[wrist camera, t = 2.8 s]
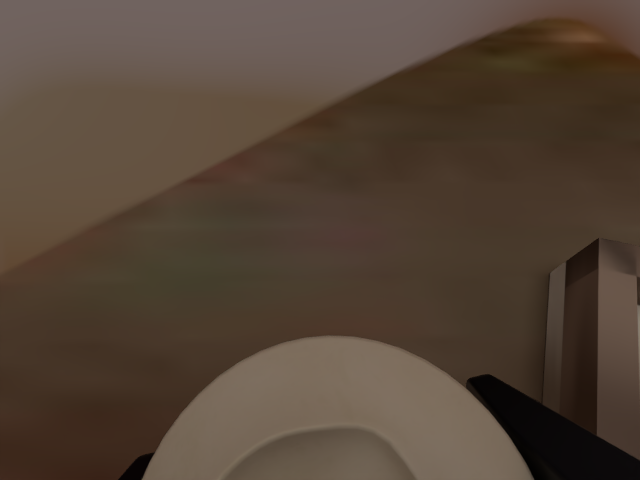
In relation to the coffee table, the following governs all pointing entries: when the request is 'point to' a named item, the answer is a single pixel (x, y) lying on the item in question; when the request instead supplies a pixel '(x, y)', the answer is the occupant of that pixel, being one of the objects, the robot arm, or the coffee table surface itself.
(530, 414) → the robot arm
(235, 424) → the candle
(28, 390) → the coffee table surface
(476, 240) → the coffee table surface
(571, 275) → the dock bay
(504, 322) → the coffee table surface
